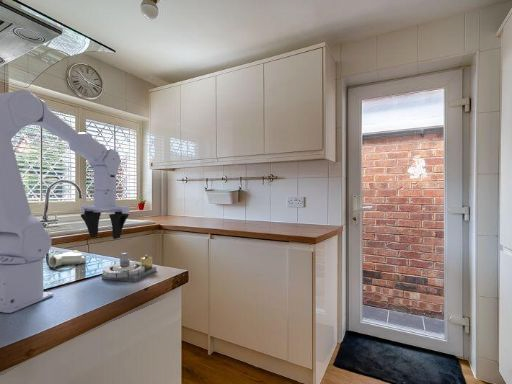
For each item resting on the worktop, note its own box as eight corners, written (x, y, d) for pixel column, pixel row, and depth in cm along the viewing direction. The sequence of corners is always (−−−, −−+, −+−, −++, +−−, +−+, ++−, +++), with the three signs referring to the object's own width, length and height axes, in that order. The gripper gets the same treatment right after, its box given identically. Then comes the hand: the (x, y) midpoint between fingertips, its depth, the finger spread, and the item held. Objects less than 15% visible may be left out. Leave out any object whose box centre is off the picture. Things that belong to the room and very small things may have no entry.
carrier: (132, 283, 72) (132, 264, 71) (94, 280, 74) (94, 261, 74) (156, 270, 82) (156, 253, 82) (122, 268, 85) (122, 251, 85)
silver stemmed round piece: (125, 275, 74) (125, 256, 74) (107, 273, 76) (107, 255, 76) (141, 269, 80) (141, 251, 80) (124, 267, 82) (124, 250, 81)
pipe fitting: (88, 263, 91) (72, 260, 93) (88, 252, 91) (72, 249, 93) (65, 270, 84) (48, 267, 85) (66, 258, 83) (49, 254, 85)
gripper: (136, 190, 83) (135, 236, 84) (94, 190, 86) (94, 234, 87) (119, 191, 76) (119, 240, 77) (74, 190, 79) (75, 238, 80)
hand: (105, 237), depth 81 cm, fingers open, 7 cm apart
